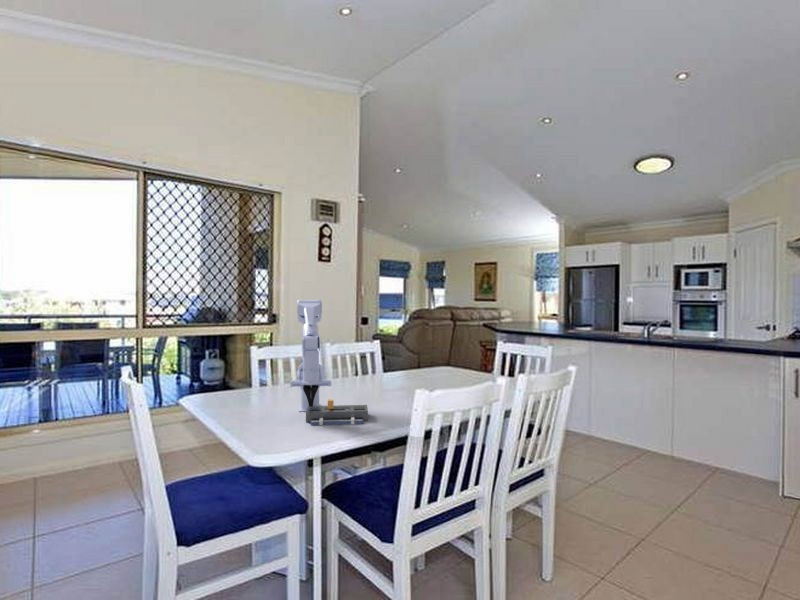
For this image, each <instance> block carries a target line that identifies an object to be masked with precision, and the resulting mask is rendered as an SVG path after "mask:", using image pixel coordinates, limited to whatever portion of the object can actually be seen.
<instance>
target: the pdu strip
mask: <svg viewBox="0 0 800 600" xmlns="http://www.w3.org/2000/svg"><path fill="white" fill-rule="evenodd" d="M351 417H354V419H363V422H368V421H369V410H368V404H346V405H333V409H328V405H321V406H313V407H309V406H308V408H307V411H306V412H305V423H311V420H319V419H320V418H323V420H327V419H351Z"/></svg>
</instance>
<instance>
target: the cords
mask: <svg viewBox="0 0 800 600" xmlns="http://www.w3.org/2000/svg"><path fill="white" fill-rule="evenodd" d="M363 422H364V421H363V419H354V417H351V419H327V420H323V418H320V419H319V420H311V422H310V426H327V425H328V426H329V425H331V426H332V425H361V424H364V423H363Z"/></svg>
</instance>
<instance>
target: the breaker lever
mask: <svg viewBox="0 0 800 600" xmlns="http://www.w3.org/2000/svg"><path fill="white" fill-rule="evenodd" d="M327 406H328V409H333V406H334V398H329V399H328V398H327Z"/></svg>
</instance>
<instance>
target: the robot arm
mask: <svg viewBox="0 0 800 600" xmlns="http://www.w3.org/2000/svg"><path fill="white" fill-rule="evenodd" d="M296 302H297V307H296V308H297V309H296V312H297V319H298V320H297V321H298V322H299V323H301V324H302V337H301V352H302V362H301V364H299V365H298V367H297V373H296V375H297V379H295V380H290V385H289V387H291V388H294V387H300V407H299V409H298V412H299V413H300V412H301V413H303V412H305V413H306V411H307V408H308V406H309V407H313V406H322V404H321V403H320V387H332V380H331V379H324V371H323V367H322V365H321V364H320V351H321V337H320V334H319V326H318V323H319V322H321V319H322V313H323V301H322V300H321V299H298V300H296Z"/></svg>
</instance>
